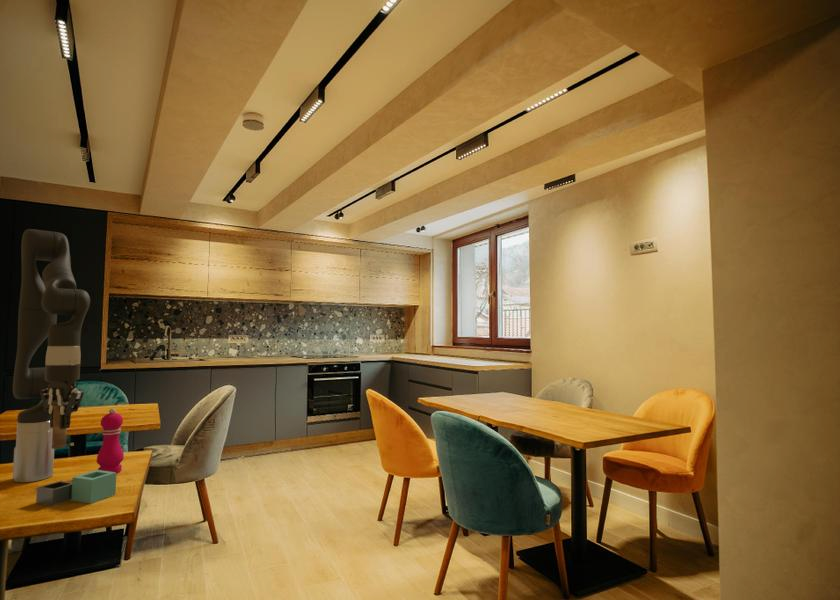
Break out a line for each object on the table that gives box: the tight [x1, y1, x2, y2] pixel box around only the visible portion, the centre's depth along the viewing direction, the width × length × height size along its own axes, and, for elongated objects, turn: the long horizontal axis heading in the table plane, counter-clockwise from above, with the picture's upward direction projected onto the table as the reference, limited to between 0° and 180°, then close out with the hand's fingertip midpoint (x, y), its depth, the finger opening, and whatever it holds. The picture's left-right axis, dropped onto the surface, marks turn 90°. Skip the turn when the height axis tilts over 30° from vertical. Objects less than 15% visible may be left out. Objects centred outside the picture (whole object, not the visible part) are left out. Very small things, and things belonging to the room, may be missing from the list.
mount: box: [35, 480, 72, 507], centre depth 126 cm, size 6×6×4 cm
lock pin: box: [52, 400, 69, 450], centre depth 127 cm, size 4×4×12 cm
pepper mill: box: [96, 407, 125, 474], centre depth 152 cm, size 7×7×20 cm
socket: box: [70, 469, 117, 504], centre depth 129 cm, size 7×7×6 cm
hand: (59, 427), depth 127 cm, fingers closed on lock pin, 3 cm apart
